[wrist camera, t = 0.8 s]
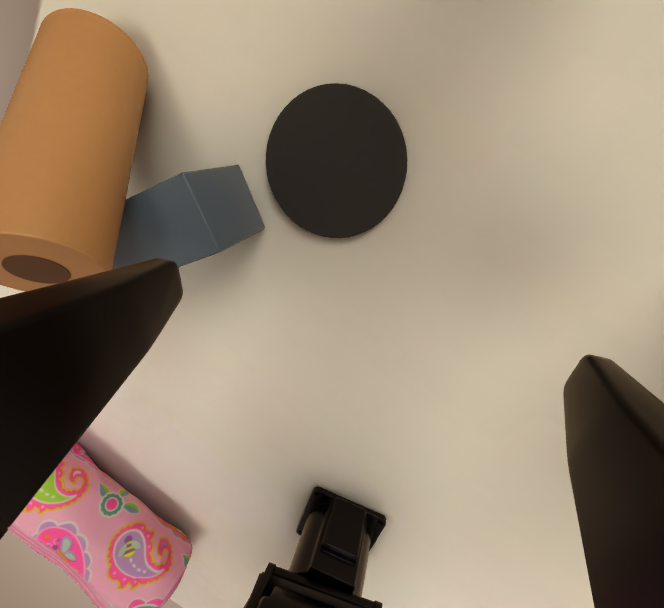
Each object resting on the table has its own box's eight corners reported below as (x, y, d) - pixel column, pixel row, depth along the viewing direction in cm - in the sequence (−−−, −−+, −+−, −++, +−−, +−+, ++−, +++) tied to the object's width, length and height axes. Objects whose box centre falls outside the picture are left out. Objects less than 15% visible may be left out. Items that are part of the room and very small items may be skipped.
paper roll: (236, 229, 24) (65, 312, 13) (178, 252, 26) (-18, 340, 15) (136, 9, 20) (-228, -143, 9) (76, 53, 22) (-292, -30, 11)
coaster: (377, 255, 23) (376, 257, 22) (256, 210, 23) (254, 211, 23) (431, 111, 19) (431, 111, 19) (285, 64, 20) (282, 62, 19)
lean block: (265, 228, 24) (220, 252, 19) (160, 266, 27) (97, 296, 22) (238, 164, 22) (182, 172, 17) (131, 212, 26) (58, 231, 21)
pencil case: (21, 429, 40) (-83, 503, 32) (52, 389, 36) (-60, 462, 28) (171, 557, 42) (109, 654, 35) (215, 533, 38) (156, 637, 30)
